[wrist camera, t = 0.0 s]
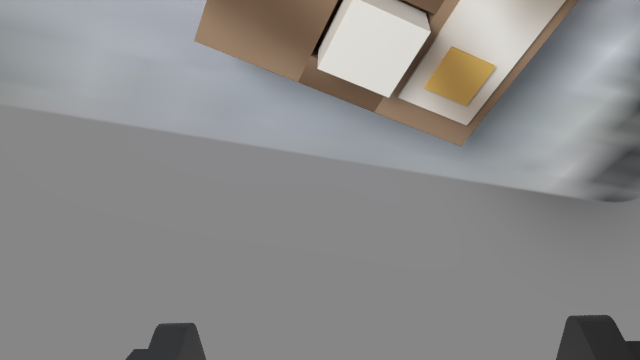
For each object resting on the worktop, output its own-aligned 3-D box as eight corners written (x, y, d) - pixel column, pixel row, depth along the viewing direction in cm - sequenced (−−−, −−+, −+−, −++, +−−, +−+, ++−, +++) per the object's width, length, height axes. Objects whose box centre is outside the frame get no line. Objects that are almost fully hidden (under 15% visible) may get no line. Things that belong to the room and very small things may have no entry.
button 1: (352, -21, 25) (353, -3, 24) (425, 12, 26) (430, 32, 25) (318, 48, 28) (317, 68, 26) (386, 77, 29) (389, 97, 27)
